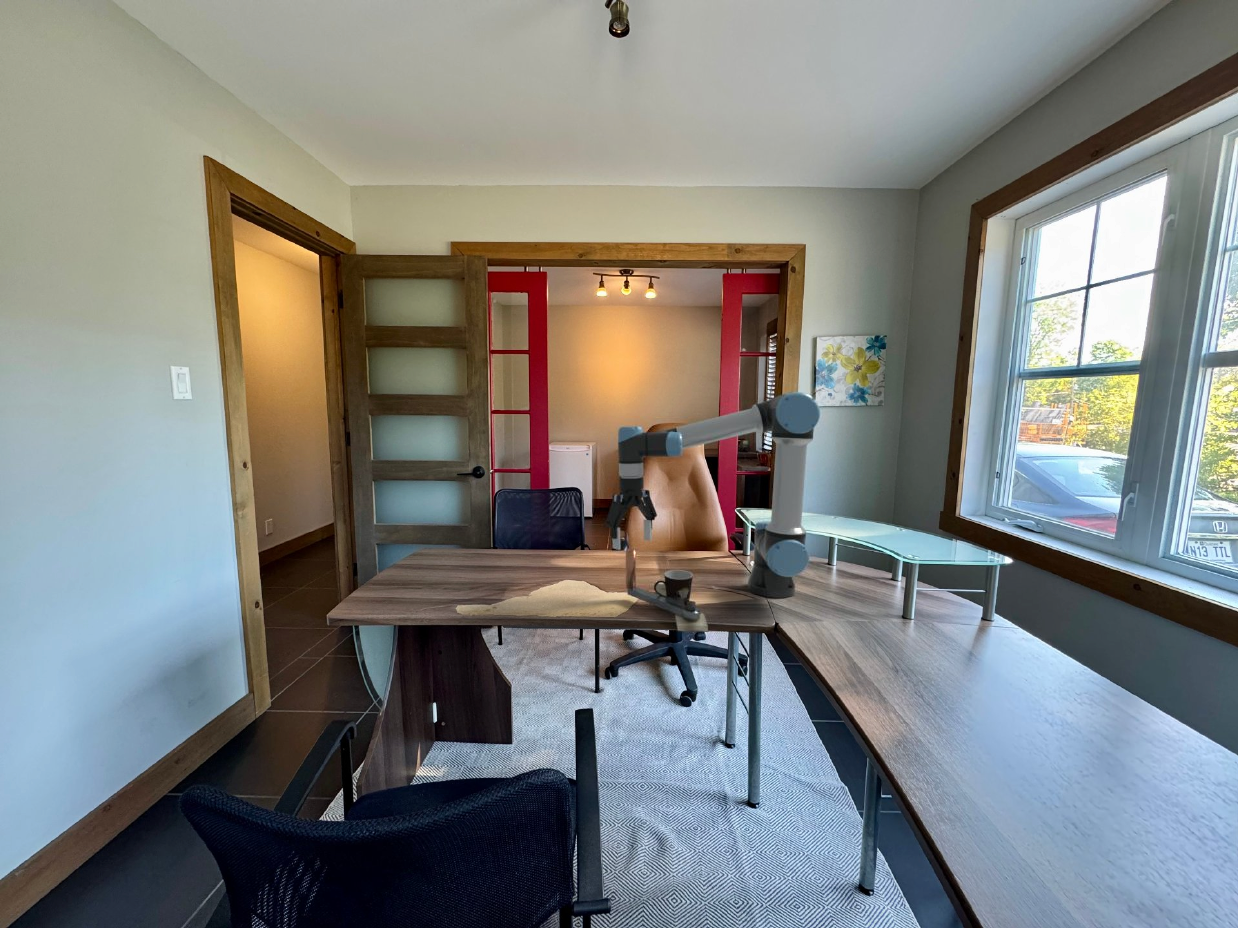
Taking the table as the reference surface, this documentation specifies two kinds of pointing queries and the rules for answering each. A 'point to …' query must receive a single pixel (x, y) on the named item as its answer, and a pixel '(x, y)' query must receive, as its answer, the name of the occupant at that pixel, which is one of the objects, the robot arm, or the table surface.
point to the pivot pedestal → (691, 625)
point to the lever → (669, 603)
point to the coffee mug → (677, 584)
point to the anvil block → (661, 589)
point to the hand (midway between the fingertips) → (632, 544)
